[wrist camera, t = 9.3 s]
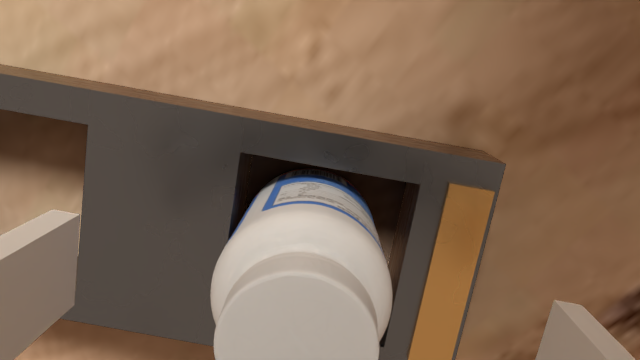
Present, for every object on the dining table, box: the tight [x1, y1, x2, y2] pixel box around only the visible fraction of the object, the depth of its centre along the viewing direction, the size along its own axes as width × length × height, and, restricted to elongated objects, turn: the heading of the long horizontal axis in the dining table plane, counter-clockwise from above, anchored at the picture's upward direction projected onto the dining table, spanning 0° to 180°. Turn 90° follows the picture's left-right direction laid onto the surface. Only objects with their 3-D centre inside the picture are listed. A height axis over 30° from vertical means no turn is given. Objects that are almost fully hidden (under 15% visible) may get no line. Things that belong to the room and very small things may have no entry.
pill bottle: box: [210, 168, 392, 360], centre depth 17 cm, size 6×5×10 cm
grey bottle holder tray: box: [0, 64, 506, 360], centre depth 20 cm, size 9×24×3 cm, turn 80°
